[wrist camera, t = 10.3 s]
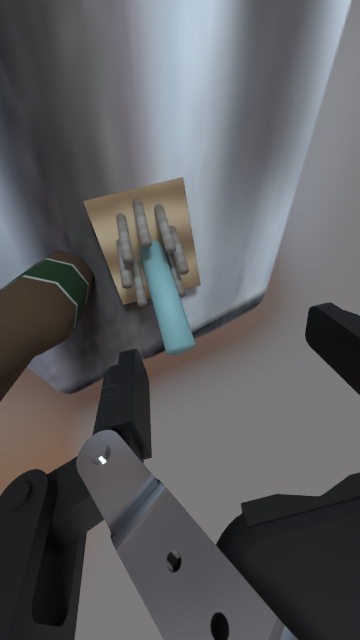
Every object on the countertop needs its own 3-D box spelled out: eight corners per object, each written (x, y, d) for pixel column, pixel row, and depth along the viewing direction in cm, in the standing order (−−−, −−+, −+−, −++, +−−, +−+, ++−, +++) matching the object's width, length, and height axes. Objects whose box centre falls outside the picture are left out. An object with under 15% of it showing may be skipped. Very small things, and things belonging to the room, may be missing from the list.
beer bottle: (86, 246, 31) (-16, 358, 11) (101, 296, 35) (47, 445, 15) (29, 252, 30) (-196, 385, 10) (50, 302, 35) (-79, 469, 14)
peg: (136, 244, 27) (164, 348, 22) (161, 237, 28) (195, 339, 22) (141, 261, 30) (167, 357, 25) (164, 254, 30) (195, 348, 25)
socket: (88, 199, 28) (68, 204, 20) (179, 178, 29) (193, 174, 21) (124, 296, 36) (119, 327, 28) (196, 278, 36) (211, 304, 28)
